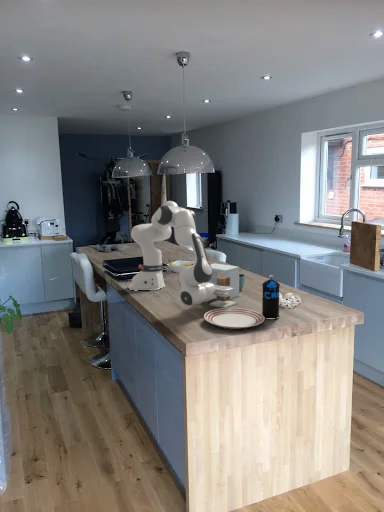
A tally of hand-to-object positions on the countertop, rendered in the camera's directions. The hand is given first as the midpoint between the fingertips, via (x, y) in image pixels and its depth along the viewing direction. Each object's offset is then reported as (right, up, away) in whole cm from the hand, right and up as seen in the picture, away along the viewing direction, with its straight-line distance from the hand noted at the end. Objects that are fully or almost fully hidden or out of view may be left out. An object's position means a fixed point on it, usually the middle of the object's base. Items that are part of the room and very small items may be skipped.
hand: (224, 286), depth 225 cm
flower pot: (+10, -5, +30) cm, 32 cm away
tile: (0, -9, +1) cm, 10 cm away
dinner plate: (+2, -15, -27) cm, 31 cm away
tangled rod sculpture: (+33, -9, +2) cm, 35 cm away
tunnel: (-1, -6, +18) cm, 19 cm away
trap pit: (-10, -8, +8) cm, 15 cm away
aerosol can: (+20, -13, -21) cm, 32 cm away
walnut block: (0, -7, +1) cm, 7 cm away
